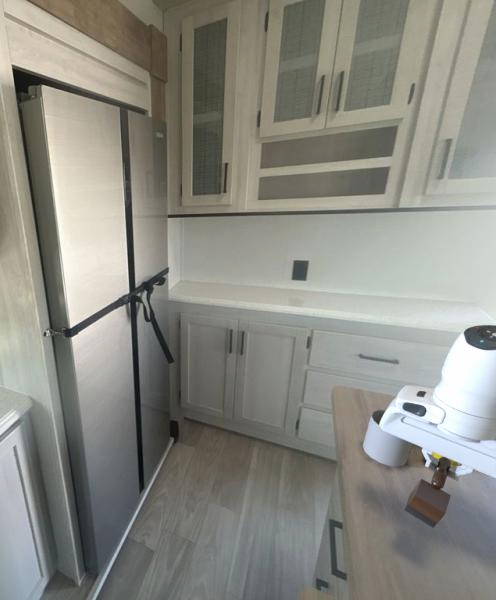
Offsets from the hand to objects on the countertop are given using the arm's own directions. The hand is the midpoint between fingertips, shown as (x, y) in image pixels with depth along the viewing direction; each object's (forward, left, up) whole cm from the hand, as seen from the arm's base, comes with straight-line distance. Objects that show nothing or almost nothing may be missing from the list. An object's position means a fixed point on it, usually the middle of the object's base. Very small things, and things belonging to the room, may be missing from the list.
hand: (441, 471), depth 63 cm
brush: (+1, +4, -4) cm, 5 cm away
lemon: (0, -18, -13) cm, 22 cm away
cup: (+9, -14, -13) cm, 21 cm away
